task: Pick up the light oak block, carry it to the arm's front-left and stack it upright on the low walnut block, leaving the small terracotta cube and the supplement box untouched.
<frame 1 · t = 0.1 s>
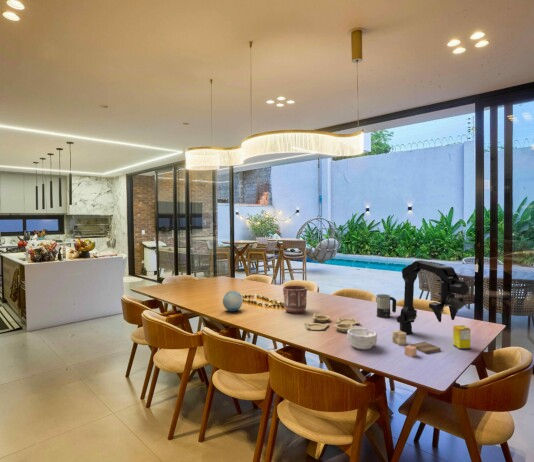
hand: (446, 321, 177), 15 cm above the table, fingers open, 9 cm apart
milk frother: (382, 315, 242), on the table
tableware set: (332, 326, 219), on the table
terracotta cube: (410, 355, 170), on the table
oak block: (399, 343, 186), on the table
decorative ball: (232, 311, 256), on the table
walnut block: (425, 349, 178), on the table
paper bowls: (361, 346, 182), on the table
pottery: (295, 311, 253), on the table
supplement box: (461, 347, 179), on the table
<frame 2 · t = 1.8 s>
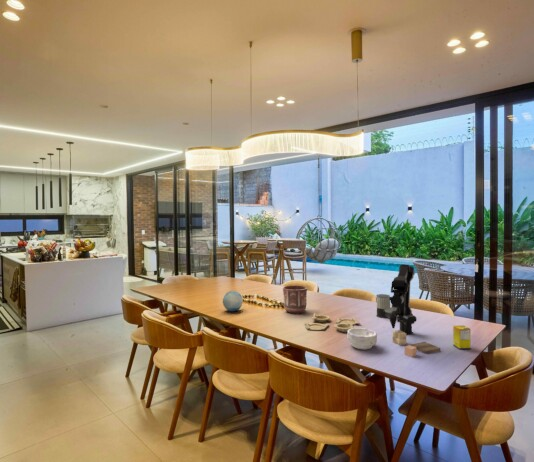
hand: (399, 330, 186), 7 cm above the table, fingers open, 9 cm apart
nothing on the table moved.
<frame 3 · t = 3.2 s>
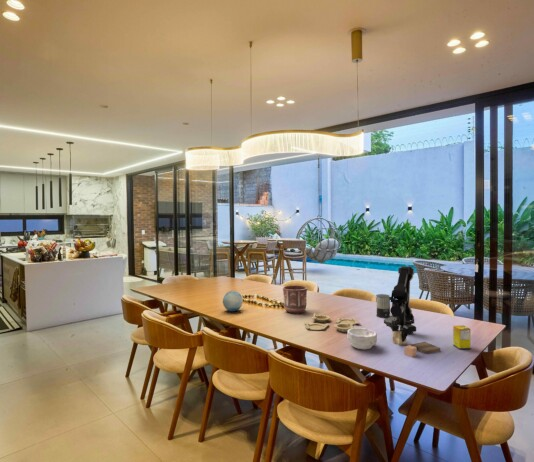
hand: (399, 340, 186), 2 cm above the table, fingers closed on oak block, 5 cm apart
oak block: (399, 342, 186), on the table, touching gripper
everything else where it was.
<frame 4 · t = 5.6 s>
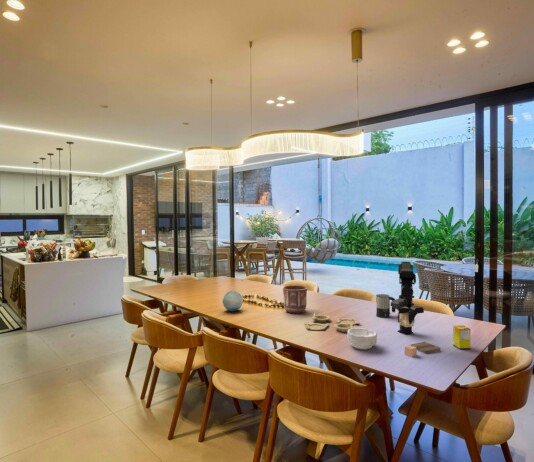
hand: (406, 322, 183), 12 cm above the table, fingers closed on oak block, 5 cm apart
oak block: (406, 325, 183), point 11 cm above the table, touching gripper
everything else where it was.
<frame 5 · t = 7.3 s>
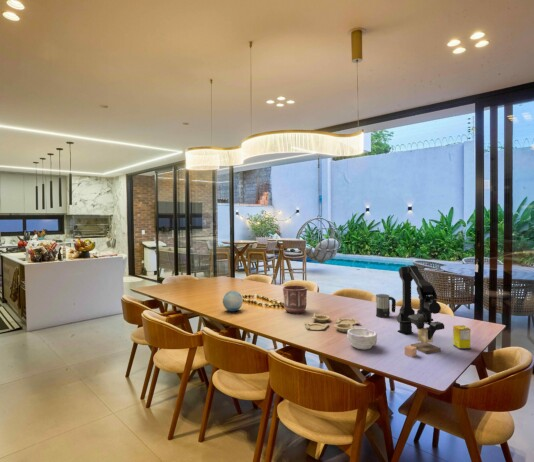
hand: (425, 338, 177), 6 cm above the table, fingers closed on oak block, 5 cm apart
oak block: (425, 341, 177), point 4 cm above the table, touching gripper
everything else where it was.
when the fingers open (4 cm above the table, at t = 8.3 s): oak block drops 2 cm, resting on walnut block.
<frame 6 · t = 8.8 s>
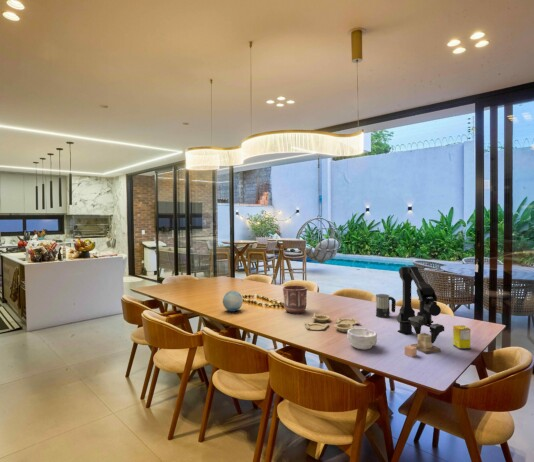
hand: (425, 340, 177), 4 cm above the table, fingers open, 9 cm apart
oak block: (424, 346, 178), point 1 cm above the table, touching walnut block
walnut block: (425, 350, 178), on the table, touching oak block
everything else where it was.
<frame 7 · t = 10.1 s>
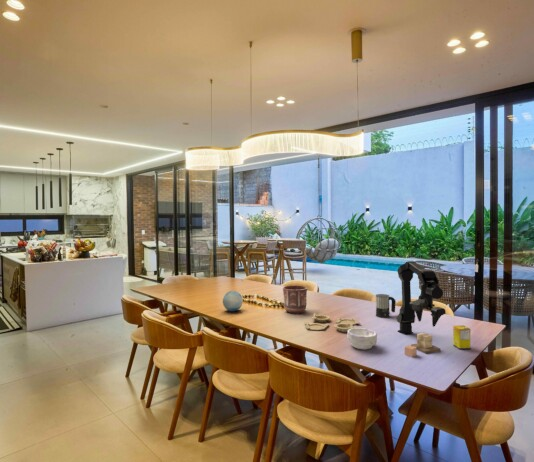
hand: (426, 323, 178), 13 cm above the table, fingers open, 9 cm apart
oak block: (424, 346, 178), point 1 cm above the table
walnut block: (425, 350, 178), on the table
everything else where it was.
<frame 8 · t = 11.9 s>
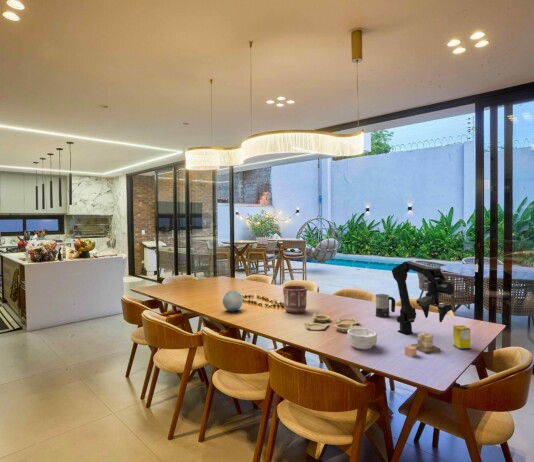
hand: (433, 319, 185), 13 cm above the table, fingers open, 9 cm apart
oak block: (425, 346, 177), point 1 cm above the table, touching walnut block
walnut block: (425, 350, 178), on the table, touching oak block
everything else where it was.
at the end: oak block inside the target area on the walnut block (0.1 cm from its centre), point 2.0 cm above the walnut block's base; oak block tilted 0°; the gripper is holding nothing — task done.
